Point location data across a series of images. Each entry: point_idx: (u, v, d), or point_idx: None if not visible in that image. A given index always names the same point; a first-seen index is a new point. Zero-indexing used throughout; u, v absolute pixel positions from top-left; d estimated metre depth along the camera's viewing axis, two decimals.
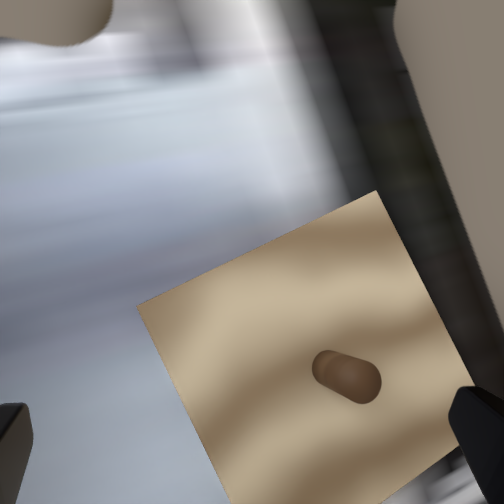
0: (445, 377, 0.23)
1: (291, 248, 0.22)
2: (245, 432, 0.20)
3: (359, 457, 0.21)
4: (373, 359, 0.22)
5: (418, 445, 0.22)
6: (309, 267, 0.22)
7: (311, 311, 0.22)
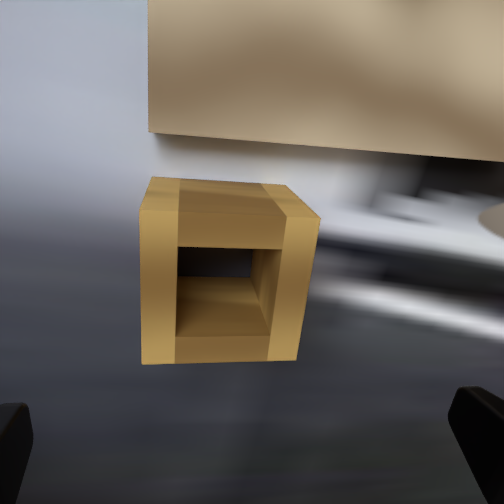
0: None
1: None
2: None
3: (343, 73, 0.15)
4: None
5: (416, 119, 0.16)
6: None
7: None
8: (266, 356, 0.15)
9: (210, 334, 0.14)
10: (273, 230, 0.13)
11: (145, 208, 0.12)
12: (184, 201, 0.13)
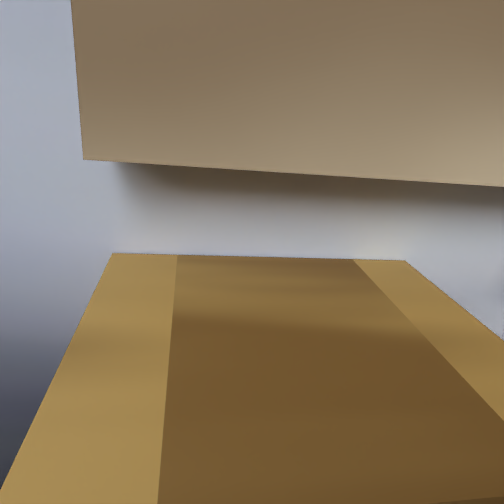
0: None
1: None
2: None
3: None
4: None
5: None
6: None
7: None
8: None
9: None
10: None
11: None
12: (184, 400, 0.04)
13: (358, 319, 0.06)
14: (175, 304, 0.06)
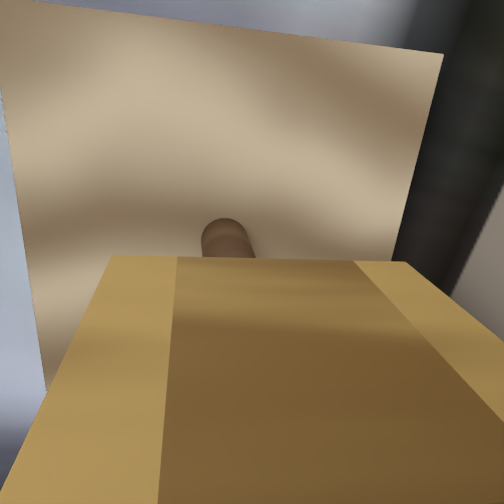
0: None
1: (270, 60, 0.14)
2: (83, 250, 0.16)
3: None
4: None
5: None
6: (278, 105, 0.14)
7: (245, 163, 0.15)
8: None
9: None
10: None
11: None
12: (184, 404, 0.04)
13: (359, 321, 0.06)
14: (175, 306, 0.06)
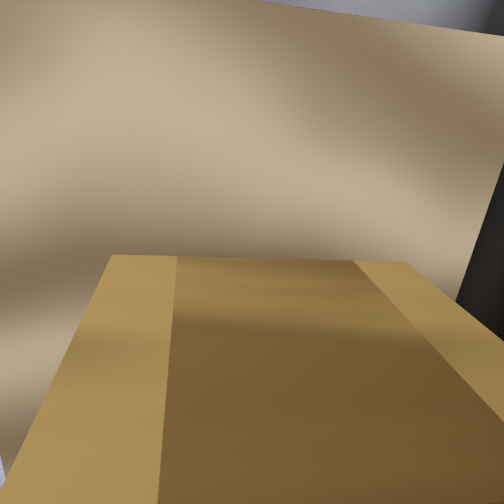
0: None
1: (306, 50, 0.10)
2: (48, 308, 0.12)
3: None
4: None
5: None
6: (315, 112, 0.10)
7: (267, 192, 0.11)
8: None
9: None
10: None
11: None
12: (185, 404, 0.04)
13: (359, 321, 0.06)
14: (175, 306, 0.06)
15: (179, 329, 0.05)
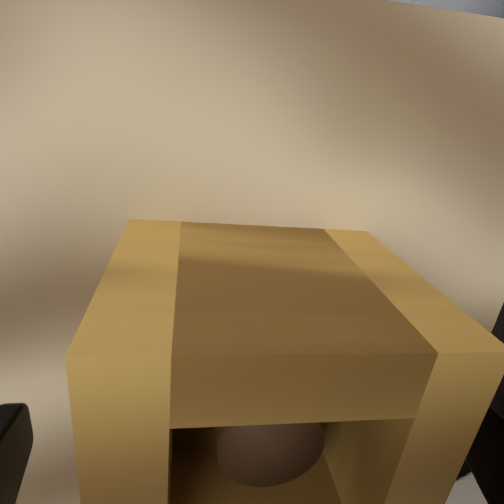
0: None
1: (329, 43, 0.08)
2: (23, 347, 0.10)
3: None
4: None
5: None
6: (338, 118, 0.09)
7: (280, 212, 0.09)
8: None
9: None
10: (401, 382, 0.05)
11: (84, 348, 0.05)
12: (188, 302, 0.06)
13: (319, 265, 0.08)
14: (180, 251, 0.07)
15: (183, 264, 0.07)
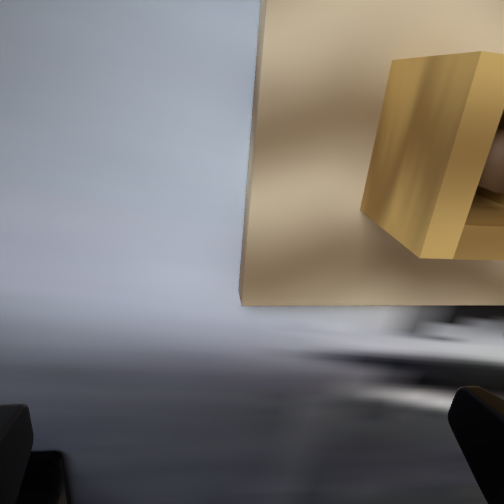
0: None
1: None
2: (308, 152, 0.15)
3: (396, 255, 0.18)
4: None
5: (455, 281, 0.19)
6: None
7: None
8: None
9: (497, 225, 0.12)
10: None
11: (483, 51, 0.10)
12: None
13: None
14: None
15: None
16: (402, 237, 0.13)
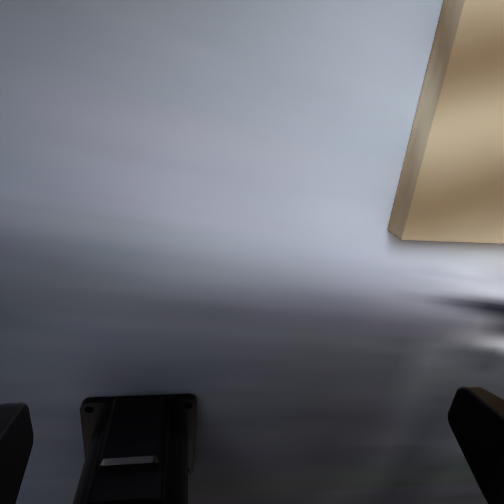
0: None
1: None
2: (489, 85, 0.16)
3: None
4: None
5: None
6: None
7: None
8: None
9: None
10: None
11: None
12: None
13: None
14: None
15: None
16: None
